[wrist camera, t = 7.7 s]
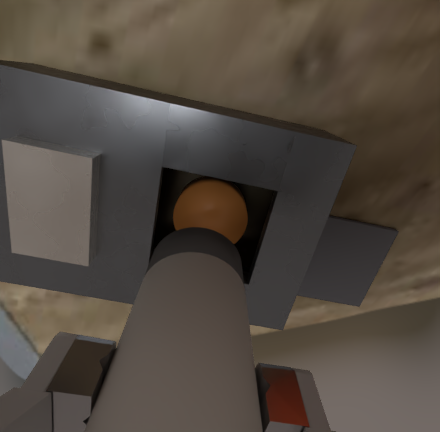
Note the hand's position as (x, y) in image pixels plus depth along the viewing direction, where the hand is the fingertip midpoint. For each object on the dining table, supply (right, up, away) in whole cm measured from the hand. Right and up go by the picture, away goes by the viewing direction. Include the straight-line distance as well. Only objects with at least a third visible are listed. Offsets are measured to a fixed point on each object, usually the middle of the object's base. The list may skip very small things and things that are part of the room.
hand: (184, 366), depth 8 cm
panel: (-2, +6, +12) cm, 14 cm away
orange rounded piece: (0, +5, +10) cm, 11 cm away
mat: (+10, +1, +14) cm, 17 cm away
